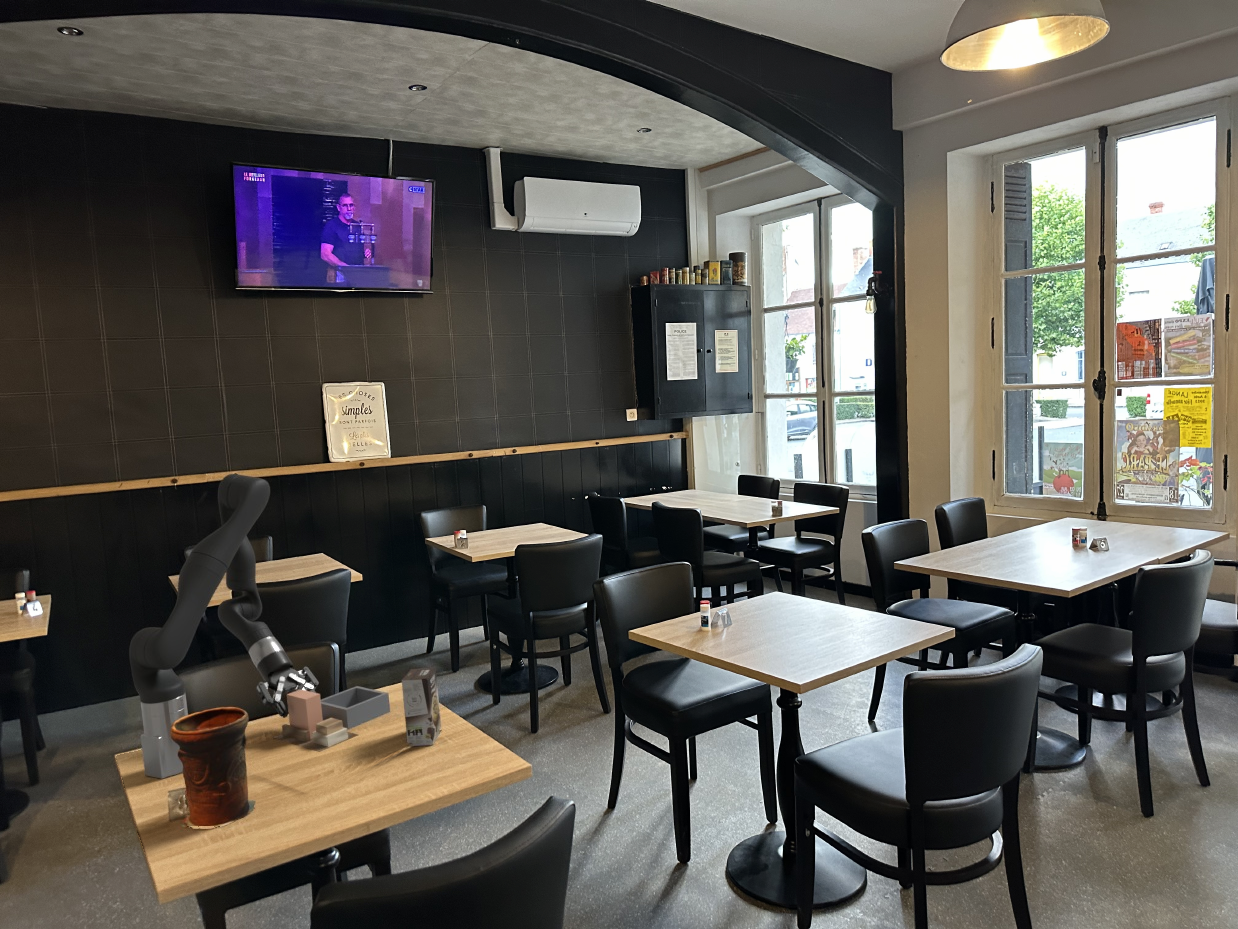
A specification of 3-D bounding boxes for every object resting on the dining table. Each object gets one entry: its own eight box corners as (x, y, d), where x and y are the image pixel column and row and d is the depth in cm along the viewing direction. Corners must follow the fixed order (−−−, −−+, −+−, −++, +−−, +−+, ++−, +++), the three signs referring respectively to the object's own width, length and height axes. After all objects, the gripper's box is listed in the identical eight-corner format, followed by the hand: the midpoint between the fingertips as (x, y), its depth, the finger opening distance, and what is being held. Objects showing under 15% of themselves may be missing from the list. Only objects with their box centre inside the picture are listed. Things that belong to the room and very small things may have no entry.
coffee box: (434, 745, 203) (427, 678, 202) (406, 747, 204) (400, 680, 202) (442, 730, 213) (436, 666, 211) (416, 732, 213) (410, 667, 211)
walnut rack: (273, 741, 213) (272, 727, 213) (312, 725, 222) (311, 712, 222) (320, 755, 202) (318, 741, 202) (359, 738, 211) (357, 724, 211)
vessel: (180, 807, 180) (172, 713, 179) (255, 792, 186) (247, 701, 184) (176, 838, 167) (167, 737, 165) (256, 820, 173) (248, 722, 171)
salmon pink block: (290, 733, 215) (286, 694, 214) (305, 728, 218) (300, 689, 217) (309, 739, 210) (305, 699, 209) (324, 733, 213) (320, 694, 213)
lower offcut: (313, 742, 208) (312, 732, 208) (333, 734, 213) (332, 724, 212) (328, 747, 205) (327, 736, 204) (348, 738, 209) (347, 728, 209)
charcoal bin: (317, 724, 223) (314, 702, 222) (359, 707, 233) (357, 686, 233) (348, 733, 215) (346, 709, 215) (390, 715, 225) (388, 693, 225)
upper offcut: (316, 732, 208) (315, 724, 208) (332, 725, 211) (331, 717, 211) (327, 735, 205) (326, 727, 205) (343, 728, 209) (342, 720, 209)
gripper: (249, 658, 213) (281, 711, 207) (300, 642, 224) (332, 691, 219) (239, 676, 217) (270, 728, 211) (290, 659, 228) (321, 708, 222)
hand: (302, 709), depth 215 cm, fingers open, 8 cm apart
